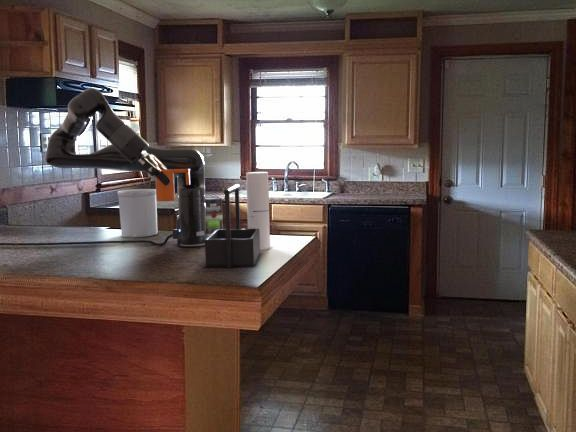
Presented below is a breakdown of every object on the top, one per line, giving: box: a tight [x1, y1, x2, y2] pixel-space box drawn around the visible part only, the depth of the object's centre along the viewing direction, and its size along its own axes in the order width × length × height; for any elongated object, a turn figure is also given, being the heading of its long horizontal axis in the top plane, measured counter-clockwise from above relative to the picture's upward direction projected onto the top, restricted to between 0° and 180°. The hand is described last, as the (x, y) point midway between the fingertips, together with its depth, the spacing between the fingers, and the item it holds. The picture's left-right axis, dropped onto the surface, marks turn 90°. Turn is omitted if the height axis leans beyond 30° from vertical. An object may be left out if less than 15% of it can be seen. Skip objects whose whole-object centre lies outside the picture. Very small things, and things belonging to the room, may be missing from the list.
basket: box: [204, 183, 261, 269], centre depth 189 cm, size 14×24×22 cm, turn 178°
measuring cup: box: [154, 169, 190, 202], centre depth 188 cm, size 10×5×9 cm, turn 88°
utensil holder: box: [116, 188, 158, 238], centre depth 249 cm, size 15×15×18 cm
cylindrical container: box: [245, 171, 271, 251], centre depth 210 cm, size 7×7×25 cm
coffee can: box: [205, 196, 224, 237], centre depth 246 cm, size 10×10×14 cm
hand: (170, 182), depth 188 cm, fingers closed on measuring cup, 5 cm apart
